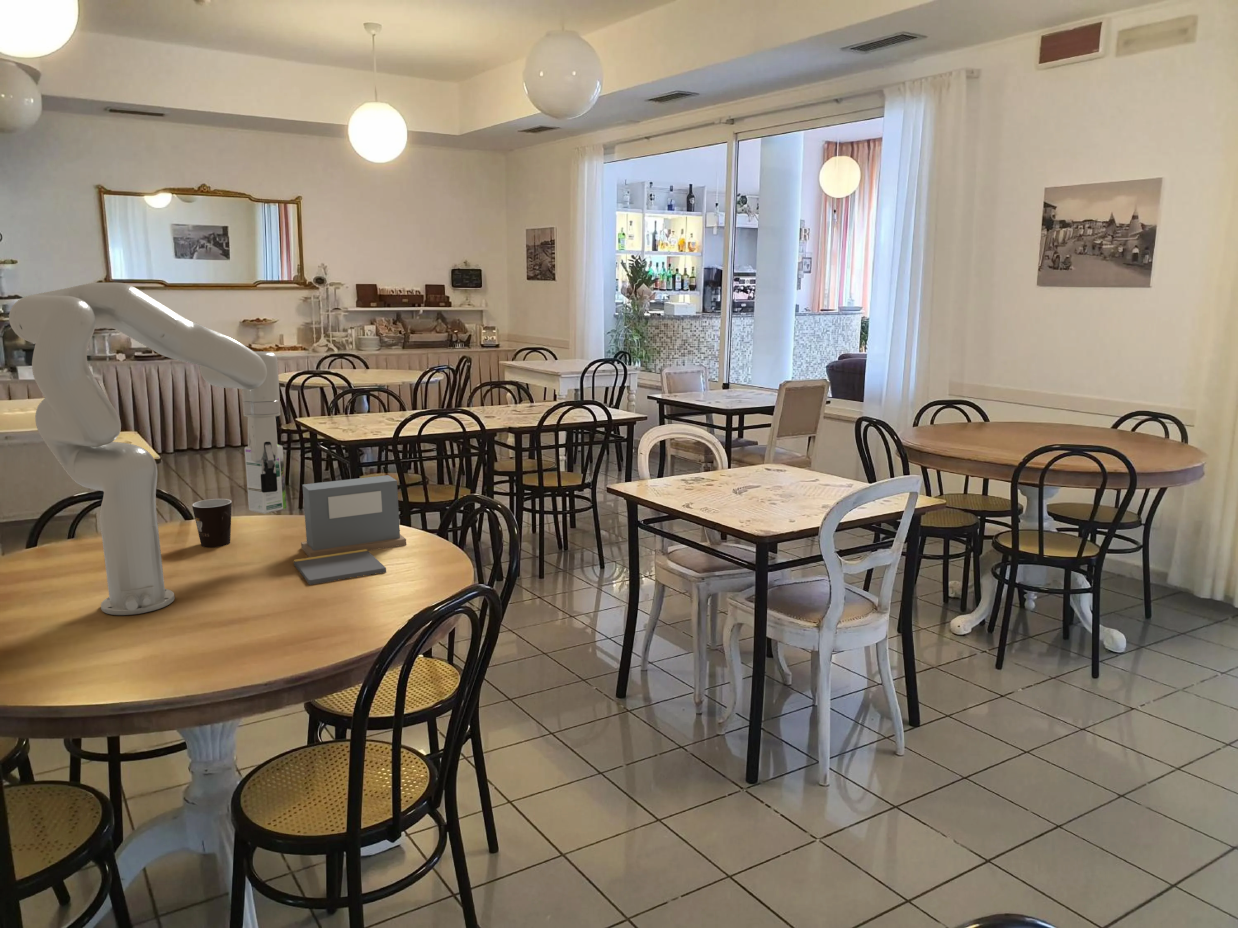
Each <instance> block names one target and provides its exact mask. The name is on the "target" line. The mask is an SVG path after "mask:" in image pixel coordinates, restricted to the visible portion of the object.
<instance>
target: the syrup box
mask: <svg viewBox="0 0 1238 928" xmlns="http://www.w3.org/2000/svg"><path fill="white" fill-rule="evenodd" d="M277 445H278V459H277V460H276V461H275V468H276V473H277V491H276V492H265V493H263V492H262V491H261V474H262V470H261V463H260V462H261V460H258V462H257V463H255V462H254V461H253V460H251V446H248V445H247V446H245V447H244V461H245V473H246V475H245V476H246V485H247V487H246V488H247V499H248V501H247V503H248V510H249V511H251V512H254V513H259V514H268V513H273V512H279V511H282V510H286V509H287V497H286V496H287V495H286V492H287V491H286V479H285V478H286V477H285V465H284V463H285V461H284V448H283V445H282V444H278V443H277ZM264 451H265V449H264ZM274 457H275V455H274ZM262 458H263V460H266V459H267V458H266V457H265V456H264V453H263V456H262ZM274 460H275V459H274ZM264 465H265V464H264ZM264 467H265V466H264Z"/></svg>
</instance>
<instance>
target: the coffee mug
mask: <svg viewBox="0 0 1238 928" xmlns="http://www.w3.org/2000/svg"><path fill="white" fill-rule="evenodd" d="M232 502H233V501H232V500H231V499H229V498H212V499H204V500H199V501H196V502H193V503H192V505H191V507H192V512H193V515H194V520H195V521H194V522H195V523H196V524H195V525H196V528H197V532H198V533H197V534H198V537H199V540H200V546H201V547H203V548H213V549H214V548H220V547H224V546H227V545H229V544H230V543H231V531H232Z"/></svg>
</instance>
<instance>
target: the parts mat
mask: <svg viewBox="0 0 1238 928" xmlns="http://www.w3.org/2000/svg"><path fill="white" fill-rule="evenodd" d="M293 565H294V566H295V568H296V569H297V571H298V572H299V573H300V575H301V576H302V577H303V579H304V580H305V581H306V582H307V584H308V585H309V586H310V585H317V584H323V583H329V582H335V581H334V580H336V581H339V580H338V579H343V580H346V579H345V578H349V579H351V578H350V577H355V578H358V577H357V576H361V577H364V576H363V575H367V576H372V575H371V574H373V575H376V574H375V573H379V574H384V573H383V572H385V573H387V567H386V566H385V565H384V564H383V563H381V561H379V560H378V559H377V558H376V556H374V555H373V554H372V553H371V552H370V551H368V550H367V549H364V550H357V551H350V552H344V553H337V554H330V555H323V556H317V557H310V558H309V557H306V558H297V559H294V560H293Z"/></svg>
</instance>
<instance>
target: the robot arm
mask: <svg viewBox="0 0 1238 928" xmlns="http://www.w3.org/2000/svg"><path fill="white" fill-rule="evenodd" d="M8 322H9V325H10V327H11V329H12V331H13V332H14V334H15V335H17V337H19V338H20V339H22V340H24V341H27V342H29V343H33V344H35V345H34V349H33V354H32V360H31V370H32V375H33V378H34V381H35V383H36V385H37V386H38V389H39V390H40V392H41V393H42V396H43V397H44V398H43V400H41V401H40V403H38V406H37V408H36V411H35V418H34V419H35V426H36V429H37V431H38V434H39V436H40V437H41V439H42V440H43V442H44V444H45V445H46V446H47V447H48V449H49V451H50V452H51V453H52V454H53V456H54V457H55V459H56V460H57V462H58V463H59V464H60V466H61V467H62V468H63V470H64V471H65V472H66V474H67V475H68V476H69V477H70V478H71V480H72V481H74V482H75V483H76V484H77V485H79V486H81V487H83V488H86V489H91V490H94V491H101V492H103V495H102V496H103V497H102V501H101V506H100V509H99V510H100V511H99V524H100V532H101V539H102V548H103V557H104V563H105V564H104V565H105V572H106V574H105V575H106V580H107V581H106V582H107V590H108V596H109V597H107V598H105V599H104V600H102V602H101V604H100V609H101V612H102V613H105V614H107V615H114V616H129V615H130V616H131V615H140V614H144V613H150V612H153V611H157V610H160V609H162V608H165V607H167V606H168V605H170V604H172V603H173V602H174V601H175V593H174V592H173V591H172V590H170V589H168V588H165V579H164V578H165V577H164V570H163V561H162V551H161V550H162V549H161V541H160V533H159V531H160V530H159V523H158V516H157V515H158V514H157V505H156V503H157V500H156V499H157V496H156V494H157V484H158V483H157V482H158V464H157V461H156V460H155V457H153V455H152V454H151V453H150V452H149V451H148V450H146V449H145V448H143V447H142V446H139V445H136V444H132V443H127V442H118V441H115V440H117V438H118V437H119V436H120V433H121V430H122V429H121V428H122V423H121V419H120V417H119V416H120V415H119V414H118V412H117V410H116V408H114V407H115V406H113V404H112V403H111V401H110V400H109V398H108V397H107V395H106V393H105V392H104V390H103V389H102V387H101V386H100V384H99V382H98V381H97V380H96V378H95V376H94V374H93V372H92V370H91V368H90V366H89V363H88V348H89V345H90V342H91V340H92V337H93V335H94V333H95V329H114V330H115V331H118V332H120V333H122V334H123V335H125V336H127V337H128V338H131V339H133V340H134V341H136V342H137V343H140V344H141V345H143V346H145V347H147V348H148V349H150V350H152V352H153V351H154V352H155V353H157V354H159V355H161V356H163V357H166V358H169V359H172V360H175V361H180V362H184V363H188V364H195V365H198V366H200V367H199V372H200V373H199V374H200V376H201V377H202V379H203V380H204V381H205V382H206V383H207V384H209V385H210V386H213V387H217V388H222V389H224V388H225V389H240V390H241V393H242V395H241V396H242V410H243V411H242V412H243V417H247V447H248V446H251V460H253V461H254V462H255V463H257V462H258V460H261V462H260V463H261V470H262V474H261V491H262V492H263V493H265V492H276V491H277V473H276V468H275V461H276V460H277V459H278V445H279V444H278V432H277V421H276V417H279V416H281V401H280V399H281V398H280V397H281V396H280V395H281V394H280V381H279V380H280V378H279V361H278V356H277V355H276V354H275V353H274V352H273V351H254V350H253V349H251V348H249V347H247V345H244V344H243V343H241V342H239V341H237V340H236V339H233V338H232V337H230V336H228V335H226V334H223V333H221V332H219V331H216V330H214V329H211V328H208V327H207V326H204V325H202V324H200V323H197V322H195V321H192V320H190V319H188V318H186V317H184V316H183V315H181V314H179V313H177V312H176V311H174V310H172V309H171V308H170V307H168V306H166V305H164V304H163V303H161V302H159V301H158V300H157V299H155V298H153V297H151V296H150V295H149V294H147V293H145V292H144V291H142V290H140V289H138V288H136V287H135V286H134V285H131V284H128V283H124V282H116V281H115V282H91V283H90V282H89V283H84V284H83V283H82V284H80V285H76V286H75V285H74V286H70V287H66V288H61V289H55V290H51V291H45V292H41V293H35V294H30V295H26V296H24V297H21V298H20V299H19V300H17V301H16V302H15V303H14V304H13V305H12V306H11V309H10V310H9V315H8ZM277 444H278V445H277ZM264 449H265V451H264ZM263 453H264V456H265V457H266V458H267V459H266V460H263V458H262V456H263ZM274 455H275V457H274ZM274 459H275V460H274ZM264 464H265V465H264ZM264 466H265V467H264Z"/></svg>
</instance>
